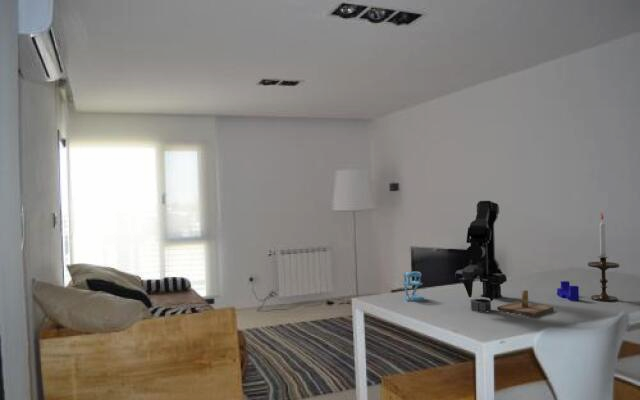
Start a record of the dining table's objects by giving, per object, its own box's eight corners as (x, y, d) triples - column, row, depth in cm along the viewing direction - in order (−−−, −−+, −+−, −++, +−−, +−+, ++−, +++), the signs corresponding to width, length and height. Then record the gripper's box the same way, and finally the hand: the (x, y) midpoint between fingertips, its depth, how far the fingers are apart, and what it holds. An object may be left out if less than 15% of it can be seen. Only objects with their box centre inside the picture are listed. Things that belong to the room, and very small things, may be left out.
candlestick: (590, 295, 200) (588, 212, 200) (620, 298, 193) (618, 211, 193) (587, 300, 191) (584, 213, 191) (619, 303, 185) (616, 212, 185)
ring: (467, 309, 181) (467, 300, 181) (478, 307, 185) (478, 298, 185) (483, 312, 175) (483, 303, 175) (494, 309, 179) (493, 300, 179)
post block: (497, 310, 178) (496, 290, 178) (517, 305, 186) (517, 285, 186) (533, 317, 167) (532, 296, 167) (553, 311, 175) (552, 290, 175)
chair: (418, 296, 208) (417, 268, 207) (425, 300, 199) (424, 271, 199) (400, 297, 206) (400, 269, 206) (407, 301, 198) (406, 272, 198)
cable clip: (557, 295, 203) (556, 281, 203) (568, 295, 202) (568, 281, 202) (566, 301, 191) (566, 286, 191) (578, 301, 190) (578, 286, 190)
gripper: (445, 257, 183) (446, 298, 183) (489, 261, 168) (490, 306, 168) (463, 254, 189) (464, 294, 189) (506, 258, 175) (507, 301, 175)
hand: (480, 298), depth 180 cm, fingers open, 9 cm apart
